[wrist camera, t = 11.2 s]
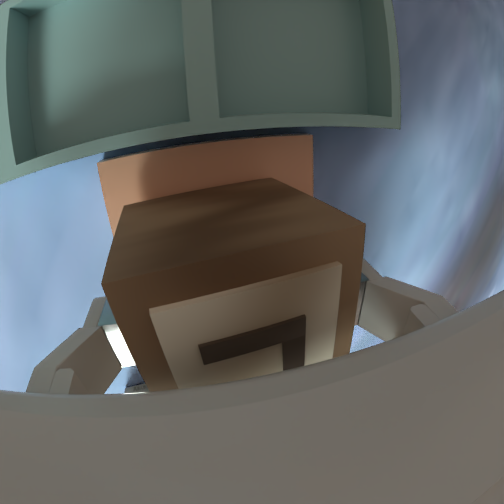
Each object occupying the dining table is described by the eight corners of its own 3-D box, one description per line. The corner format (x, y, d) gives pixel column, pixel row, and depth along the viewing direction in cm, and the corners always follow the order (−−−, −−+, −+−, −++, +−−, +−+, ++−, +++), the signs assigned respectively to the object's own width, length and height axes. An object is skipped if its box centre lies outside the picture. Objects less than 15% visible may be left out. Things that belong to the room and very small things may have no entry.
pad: (305, 133, 12) (312, 135, 12) (304, 297, 17) (309, 305, 16) (102, 159, 11) (96, 163, 10) (146, 323, 15) (145, 333, 14)
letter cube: (271, 177, 12) (373, 227, 6) (278, 298, 14) (347, 389, 9) (123, 205, 10) (99, 292, 5) (159, 328, 13) (178, 444, 8)
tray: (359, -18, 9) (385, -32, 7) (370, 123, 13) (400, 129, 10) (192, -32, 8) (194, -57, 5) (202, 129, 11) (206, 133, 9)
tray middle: (192, -32, 8) (194, -57, 5) (202, 129, 11) (206, 133, 9) (26, 15, 6) (1, 4, 4) (35, 167, 10) (10, 180, 8)
